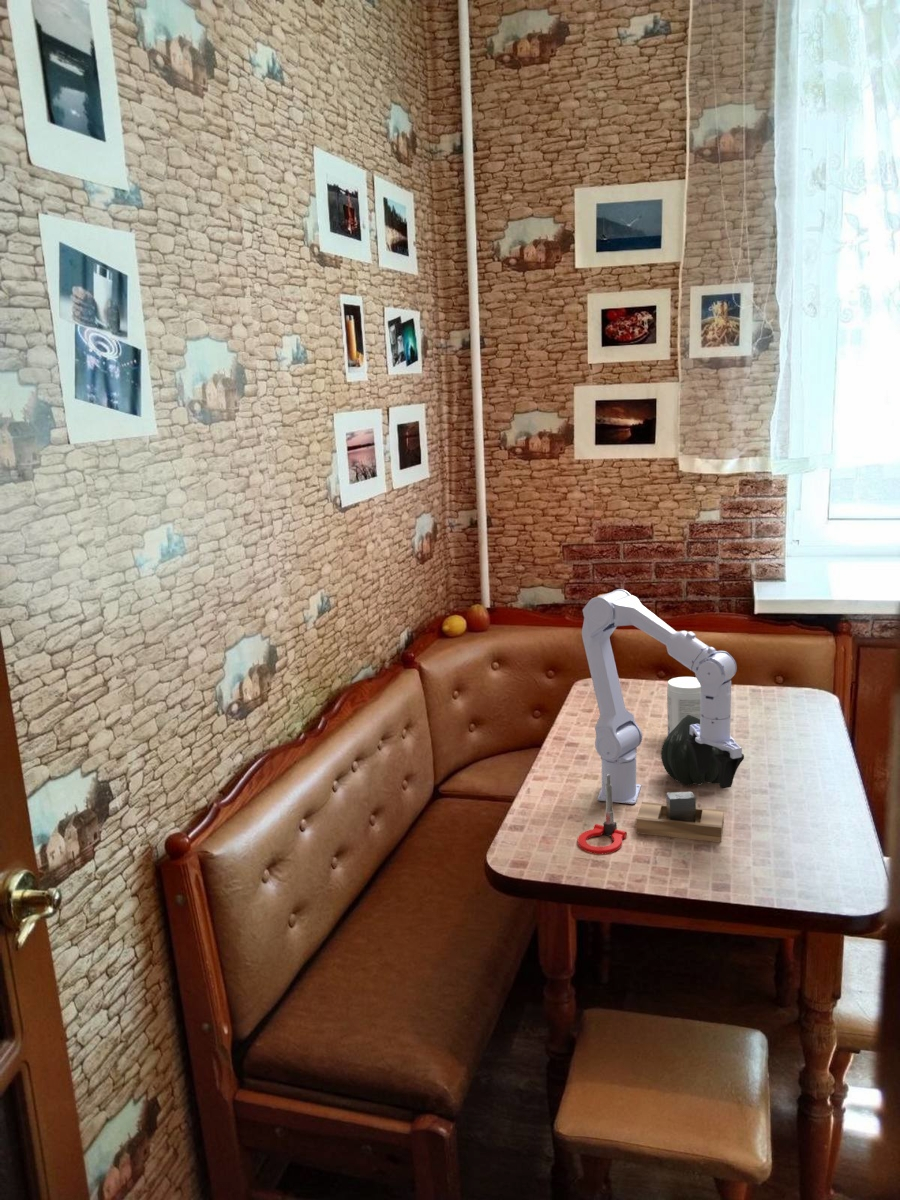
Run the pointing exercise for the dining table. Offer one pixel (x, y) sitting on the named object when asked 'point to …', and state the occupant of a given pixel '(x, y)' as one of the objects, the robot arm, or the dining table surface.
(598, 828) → the tow hook
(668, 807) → the grey rectangular prism
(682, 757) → the squash
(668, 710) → the supplement tub
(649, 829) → the open wooden tray
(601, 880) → the dining table surface
